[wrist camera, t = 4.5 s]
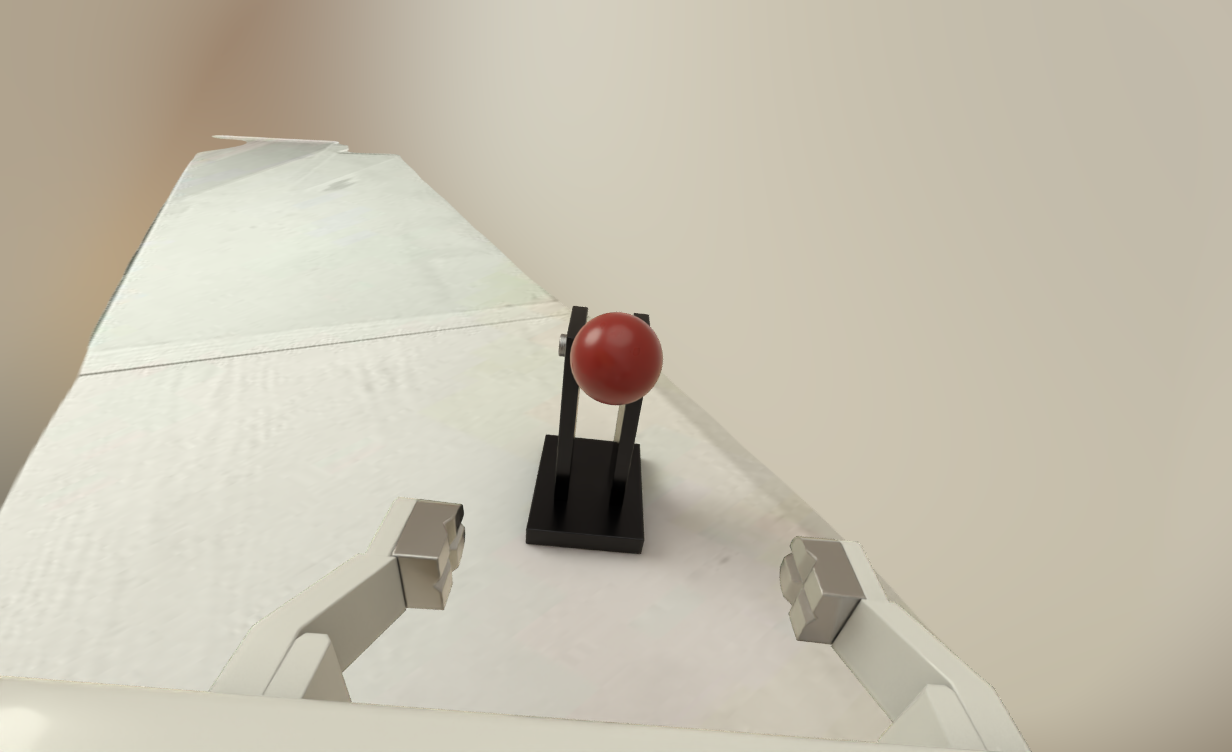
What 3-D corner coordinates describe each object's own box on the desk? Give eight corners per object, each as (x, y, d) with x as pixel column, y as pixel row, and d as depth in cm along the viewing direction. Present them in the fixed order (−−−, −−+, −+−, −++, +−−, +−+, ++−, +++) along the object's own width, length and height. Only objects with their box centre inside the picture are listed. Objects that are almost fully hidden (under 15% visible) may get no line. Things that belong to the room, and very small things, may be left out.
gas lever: (663, 416, 17) (675, 316, 17) (562, 406, 17) (573, 304, 17) (630, 379, 33) (636, 325, 32) (576, 373, 32) (582, 319, 32)
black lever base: (641, 554, 34) (683, 375, 26) (525, 543, 33) (532, 358, 26) (637, 456, 42) (668, 299, 34) (544, 447, 42) (554, 286, 34)
